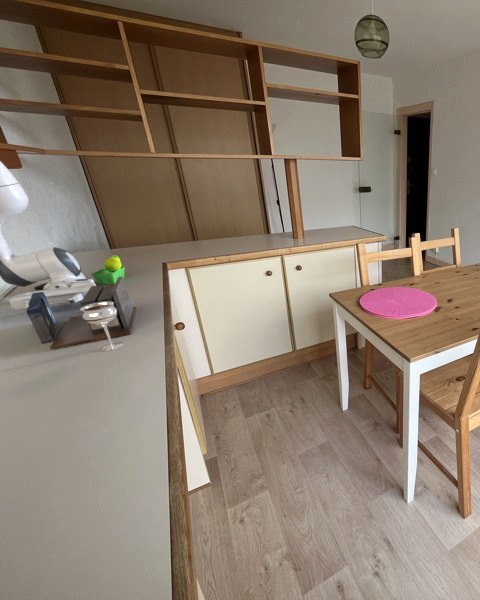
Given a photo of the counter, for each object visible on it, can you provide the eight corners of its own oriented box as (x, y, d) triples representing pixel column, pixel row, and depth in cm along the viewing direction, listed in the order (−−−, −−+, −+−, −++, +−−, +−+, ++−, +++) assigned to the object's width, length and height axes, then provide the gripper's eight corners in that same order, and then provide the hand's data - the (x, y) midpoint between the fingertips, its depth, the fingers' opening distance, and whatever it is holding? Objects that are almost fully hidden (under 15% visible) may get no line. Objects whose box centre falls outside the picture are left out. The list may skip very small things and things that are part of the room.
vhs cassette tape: (45, 322, 98) (31, 292, 94) (58, 320, 100) (46, 290, 96) (38, 344, 86) (23, 311, 82) (54, 341, 87) (39, 308, 84)
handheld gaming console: (49, 277, 133) (59, 259, 131) (71, 286, 137) (80, 268, 135) (31, 290, 124) (40, 271, 121) (54, 298, 127) (64, 280, 125)
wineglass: (129, 346, 86) (115, 306, 81) (96, 355, 81) (79, 313, 77) (126, 338, 90) (113, 299, 86) (94, 346, 85) (78, 305, 81)
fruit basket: (108, 278, 140) (99, 253, 135) (132, 276, 142) (124, 252, 138) (94, 286, 130) (84, 259, 125) (120, 284, 132) (111, 258, 128)
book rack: (51, 350, 83) (31, 305, 78) (71, 320, 100) (55, 281, 95) (130, 334, 92) (116, 293, 87) (136, 309, 109) (125, 273, 104)
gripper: (14, 287, 102) (-4, 301, 91) (98, 278, 113) (91, 288, 102) (22, 305, 104) (6, 320, 94) (104, 294, 115) (97, 306, 105)
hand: (51, 303), depth 98 cm, fingers open, 8 cm apart
